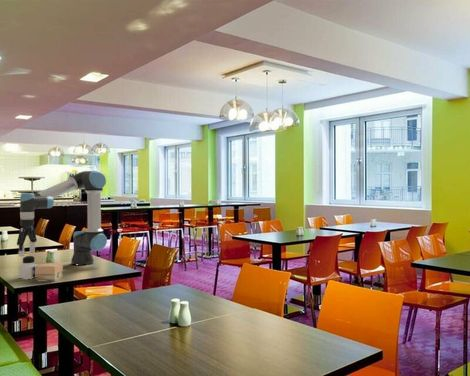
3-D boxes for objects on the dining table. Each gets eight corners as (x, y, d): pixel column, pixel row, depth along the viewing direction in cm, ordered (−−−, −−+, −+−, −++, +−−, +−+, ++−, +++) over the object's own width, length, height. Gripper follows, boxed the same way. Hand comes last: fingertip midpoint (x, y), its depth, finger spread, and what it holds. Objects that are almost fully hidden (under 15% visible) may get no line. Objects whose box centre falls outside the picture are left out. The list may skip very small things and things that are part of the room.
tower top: (44, 270, 266) (44, 262, 266) (62, 270, 266) (62, 262, 266) (35, 274, 255) (35, 266, 255) (54, 274, 255) (54, 266, 255)
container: (38, 276, 267) (38, 255, 267) (31, 279, 259) (30, 257, 259) (26, 276, 268) (25, 255, 267) (18, 279, 260) (18, 257, 260)
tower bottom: (43, 277, 266) (43, 270, 266) (62, 277, 266) (62, 270, 266) (35, 281, 255) (35, 274, 255) (54, 281, 255) (54, 274, 255)
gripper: (30, 217, 275) (30, 251, 275) (10, 220, 250) (10, 257, 250) (42, 217, 275) (42, 251, 275) (23, 220, 250) (23, 258, 250)
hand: (27, 254), depth 263 cm, fingers open, 13 cm apart
